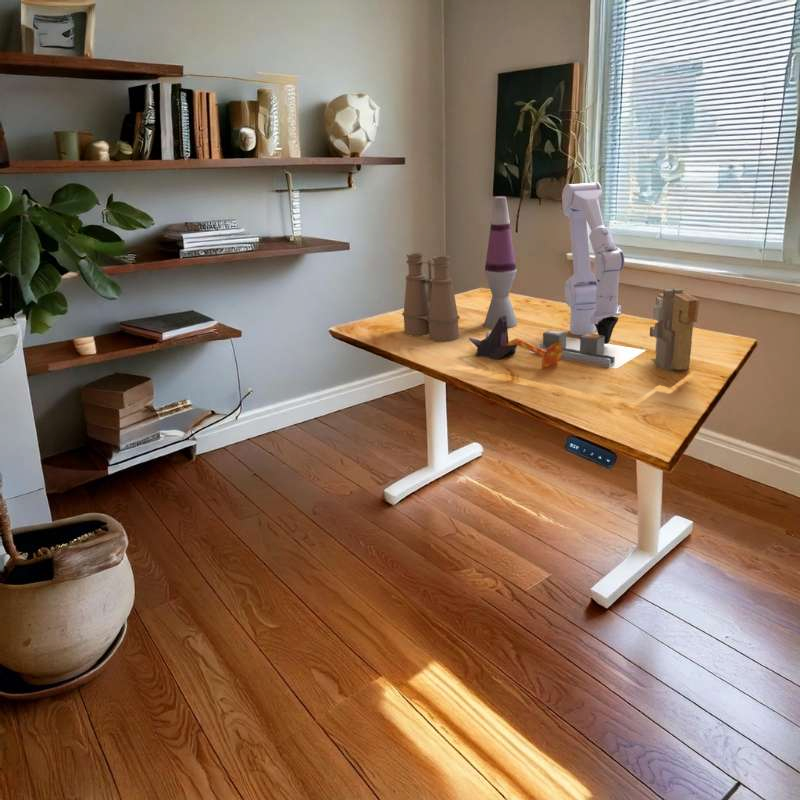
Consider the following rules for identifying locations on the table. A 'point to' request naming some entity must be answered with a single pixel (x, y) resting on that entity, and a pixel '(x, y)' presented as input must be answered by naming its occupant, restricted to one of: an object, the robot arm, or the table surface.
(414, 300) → the binoculars
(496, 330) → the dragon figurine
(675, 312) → the toy
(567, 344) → the panel
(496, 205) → the lamp
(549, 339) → the mounted module
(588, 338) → the block
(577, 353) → the rail
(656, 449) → the table surface
